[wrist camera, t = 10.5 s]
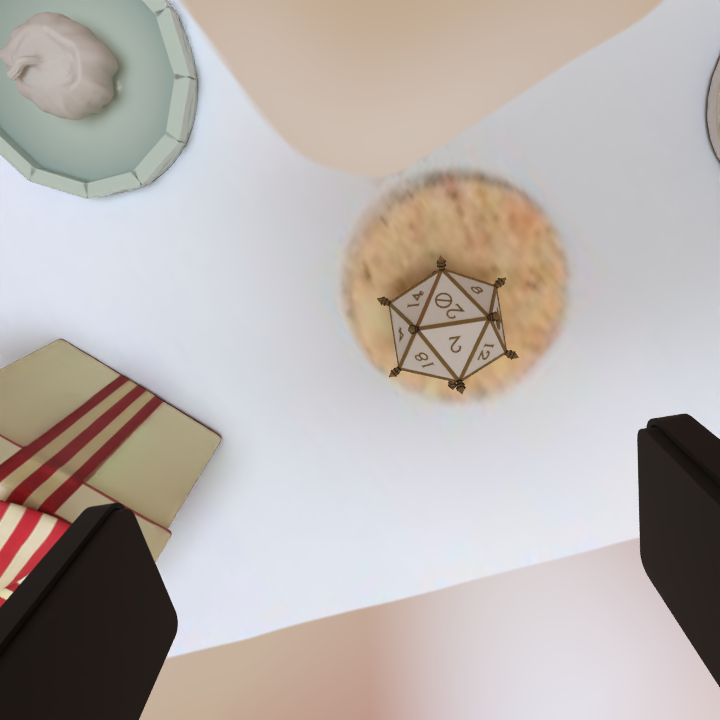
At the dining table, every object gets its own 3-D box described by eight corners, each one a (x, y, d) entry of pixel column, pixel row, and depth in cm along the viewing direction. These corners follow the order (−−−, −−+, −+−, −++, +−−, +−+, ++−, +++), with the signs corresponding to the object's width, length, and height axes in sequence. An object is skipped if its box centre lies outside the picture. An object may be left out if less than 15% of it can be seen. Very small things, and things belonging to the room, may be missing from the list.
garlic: (45, 125, 33) (-11, 118, 28) (23, 27, 31) (-41, 1, 26) (138, 121, 33) (98, 113, 28) (122, 22, 31) (76, -5, 26)
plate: (150, -86, 30) (136, -103, 28) (226, 166, 35) (218, 166, 33) (-68, -19, 31) (-96, -31, 30) (33, 215, 36) (15, 218, 34)
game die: (407, 301, 42) (328, 298, 33) (500, 241, 37) (434, 221, 29) (455, 404, 40) (384, 427, 32) (559, 355, 35) (507, 368, 27)
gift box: (6, 306, 38) (-259, 405, 22) (232, 421, 41) (145, 583, 25) (-56, 477, 44) (-307, 660, 27) (150, 569, 46) (33, 783, 30)
